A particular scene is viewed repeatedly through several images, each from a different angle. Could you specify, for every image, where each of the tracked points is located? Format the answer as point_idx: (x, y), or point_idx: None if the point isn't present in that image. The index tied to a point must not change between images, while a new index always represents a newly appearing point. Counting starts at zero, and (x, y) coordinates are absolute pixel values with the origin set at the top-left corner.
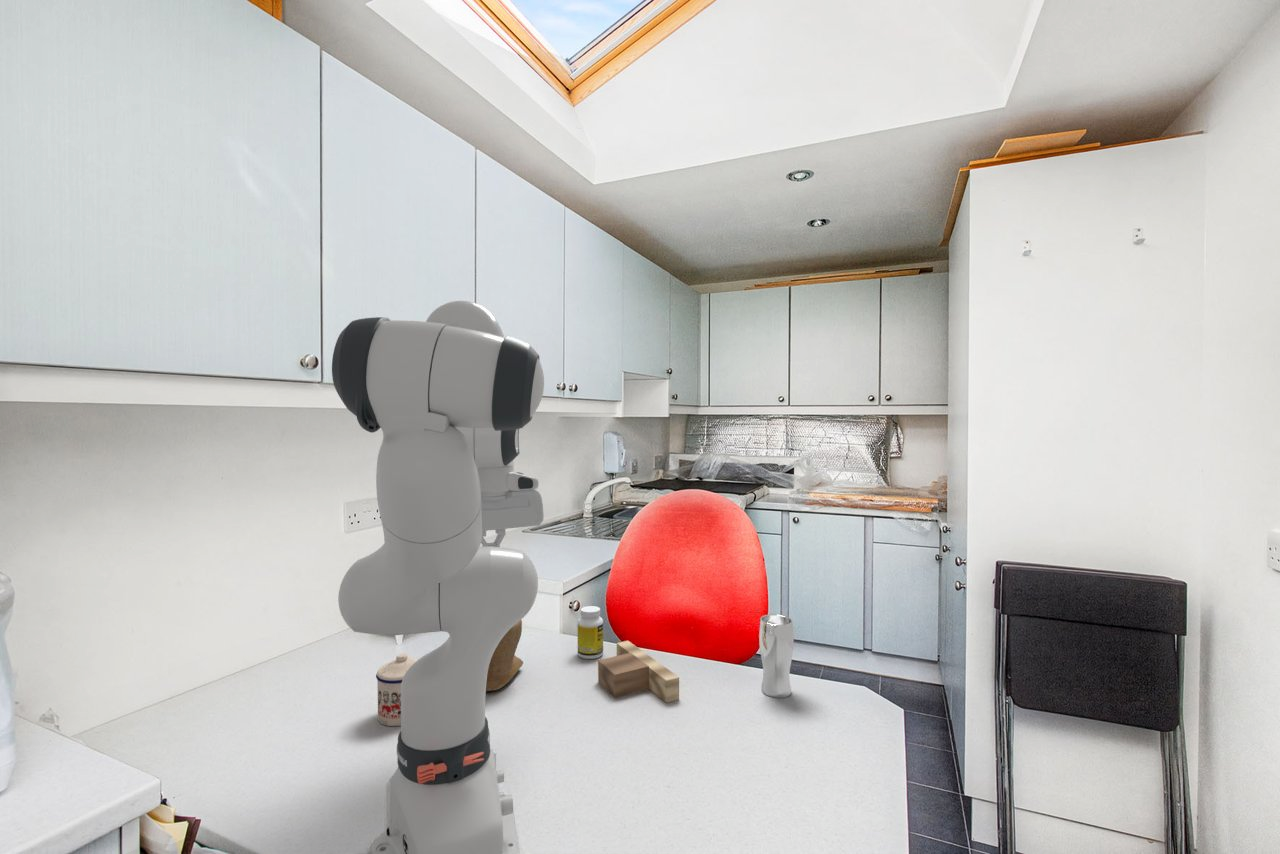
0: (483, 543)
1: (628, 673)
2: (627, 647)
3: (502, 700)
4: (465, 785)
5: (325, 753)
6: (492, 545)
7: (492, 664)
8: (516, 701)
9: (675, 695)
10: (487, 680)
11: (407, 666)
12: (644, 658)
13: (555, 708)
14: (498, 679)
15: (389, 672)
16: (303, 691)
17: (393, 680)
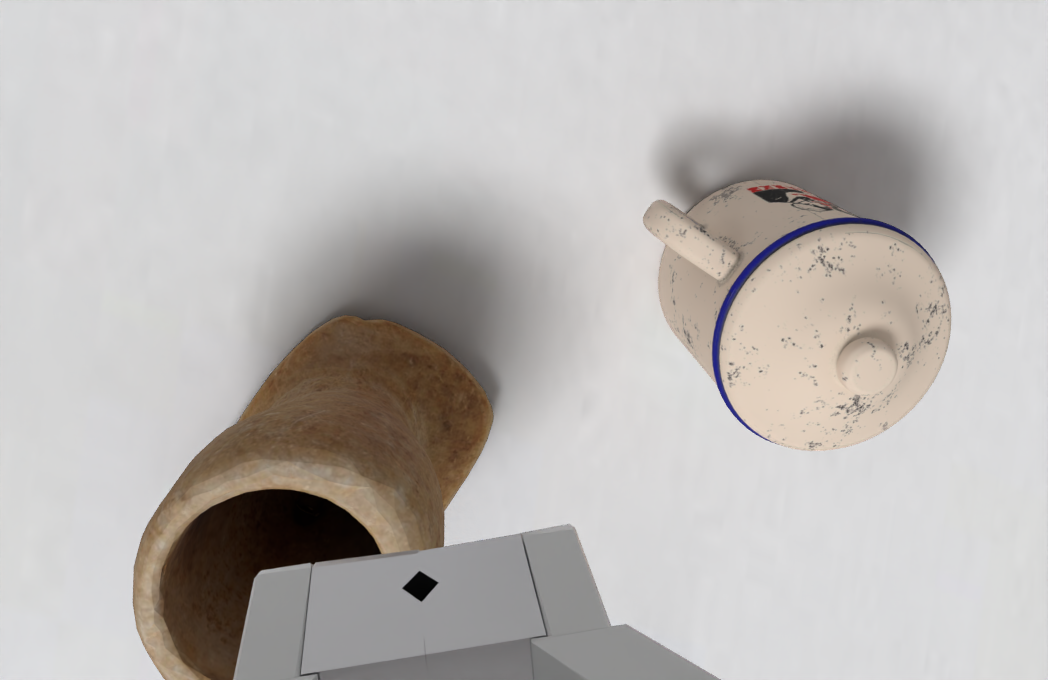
0: (653, 652)
1: None
2: None
3: (325, 238)
4: None
5: (1036, 85)
6: (417, 643)
7: (356, 396)
8: (260, 202)
9: None
10: (383, 364)
11: (836, 299)
12: None
13: (71, 49)
14: (328, 356)
15: (914, 288)
16: (1035, 592)
17: (893, 231)
